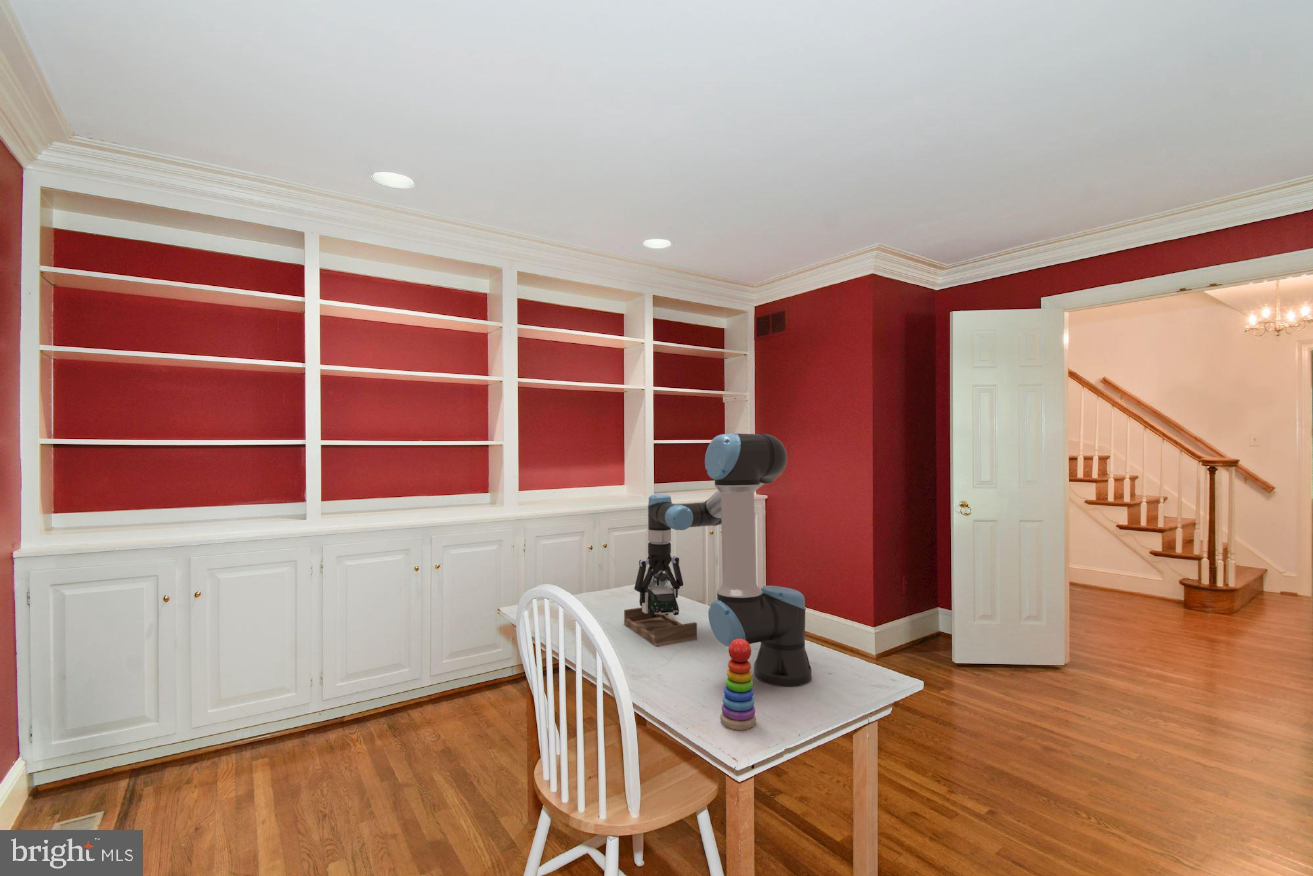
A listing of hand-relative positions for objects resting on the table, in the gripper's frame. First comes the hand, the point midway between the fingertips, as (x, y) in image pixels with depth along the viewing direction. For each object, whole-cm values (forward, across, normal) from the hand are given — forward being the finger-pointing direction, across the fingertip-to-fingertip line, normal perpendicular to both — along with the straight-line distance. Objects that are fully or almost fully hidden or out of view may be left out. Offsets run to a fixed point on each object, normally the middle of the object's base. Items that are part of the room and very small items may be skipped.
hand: (659, 610), depth 193 cm
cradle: (+7, 0, 0) cm, 7 cm away
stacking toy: (+7, +13, +62) cm, 64 cm away
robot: (+7, -10, -18) cm, 22 cm away
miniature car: (+1, 0, 0) cm, 1 cm away
